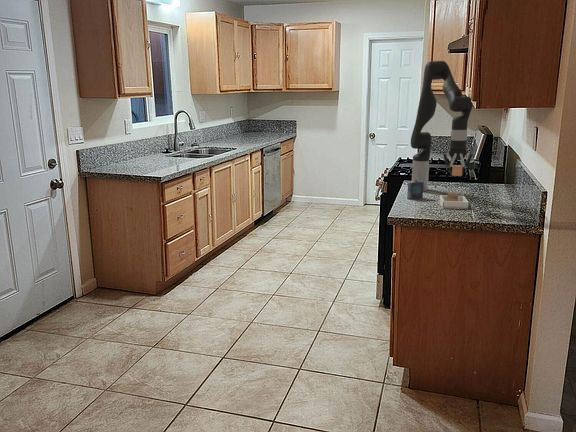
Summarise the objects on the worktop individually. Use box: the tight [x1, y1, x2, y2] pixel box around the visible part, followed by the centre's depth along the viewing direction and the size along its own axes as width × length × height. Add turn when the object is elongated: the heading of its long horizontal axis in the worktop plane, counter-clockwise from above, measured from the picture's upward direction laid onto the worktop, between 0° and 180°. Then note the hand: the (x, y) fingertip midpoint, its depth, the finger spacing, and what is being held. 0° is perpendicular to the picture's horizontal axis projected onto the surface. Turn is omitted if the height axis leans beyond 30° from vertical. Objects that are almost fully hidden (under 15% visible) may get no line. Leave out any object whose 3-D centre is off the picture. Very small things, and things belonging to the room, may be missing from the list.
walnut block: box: [447, 191, 459, 201], centre depth 256 cm, size 4×4×4 cm
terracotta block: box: [450, 164, 463, 177], centre depth 246 cm, size 4×4×4 cm
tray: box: [439, 194, 469, 210], centre depth 253 cm, size 15×12×4 cm
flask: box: [406, 178, 424, 200], centre depth 270 cm, size 9×3×11 cm, turn 109°
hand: (456, 174), depth 246 cm, fingers closed on terracotta block, 4 cm apart
